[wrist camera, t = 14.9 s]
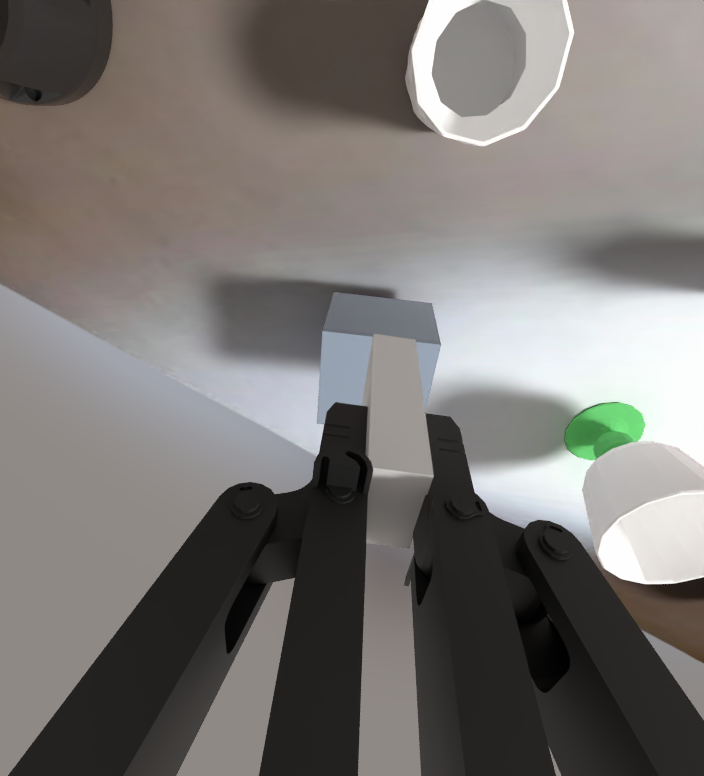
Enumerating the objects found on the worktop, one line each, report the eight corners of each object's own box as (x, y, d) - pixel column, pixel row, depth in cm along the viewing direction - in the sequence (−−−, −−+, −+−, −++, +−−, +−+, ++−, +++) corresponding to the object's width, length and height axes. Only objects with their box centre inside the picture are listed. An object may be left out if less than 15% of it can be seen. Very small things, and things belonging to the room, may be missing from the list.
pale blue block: (327, 374, 46) (316, 423, 39) (333, 291, 41) (322, 331, 34) (414, 385, 46) (419, 435, 39) (431, 303, 41) (440, 344, 34)
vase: (536, 84, 33) (599, 74, 23) (440, 159, 37) (460, 178, 27) (483, -37, 30) (531, -108, 20) (382, 59, 33) (380, 38, 23)
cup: (531, 467, 56) (575, 578, 43) (565, 381, 48) (631, 483, 35) (636, 476, 55) (714, 591, 42) (687, 390, 48) (801, 497, 35)
